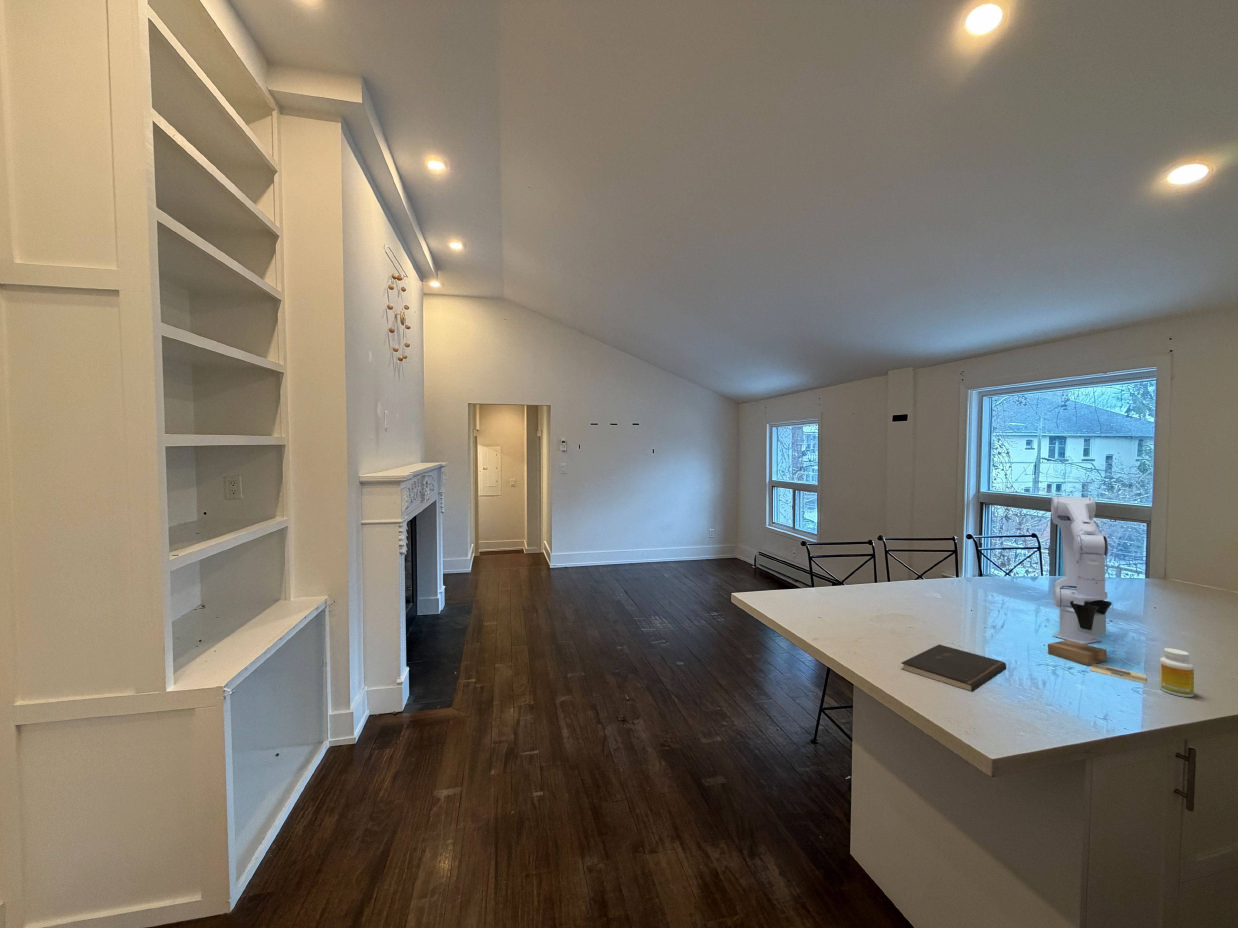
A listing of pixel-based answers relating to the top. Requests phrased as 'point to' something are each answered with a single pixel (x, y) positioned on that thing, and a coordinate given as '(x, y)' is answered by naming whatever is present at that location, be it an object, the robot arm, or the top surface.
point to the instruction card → (1119, 673)
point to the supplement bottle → (1176, 673)
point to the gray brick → (1096, 626)
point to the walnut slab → (1077, 652)
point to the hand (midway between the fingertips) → (1090, 627)
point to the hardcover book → (954, 667)
